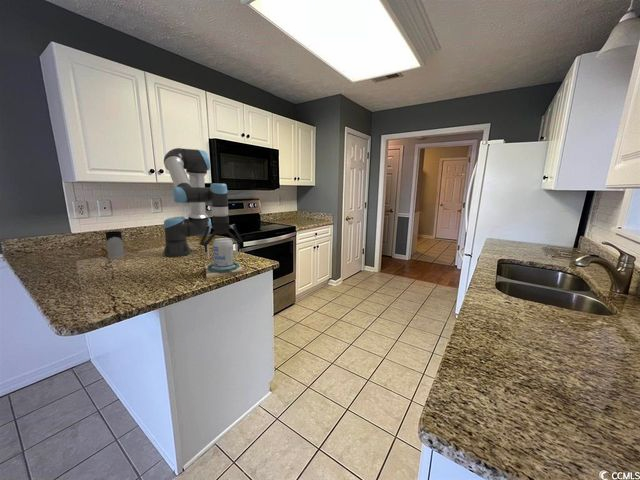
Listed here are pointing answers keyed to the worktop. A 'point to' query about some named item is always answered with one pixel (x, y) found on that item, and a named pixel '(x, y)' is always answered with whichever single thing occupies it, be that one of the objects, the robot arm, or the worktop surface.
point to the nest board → (223, 270)
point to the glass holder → (114, 244)
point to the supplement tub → (223, 253)
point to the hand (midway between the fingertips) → (223, 257)
